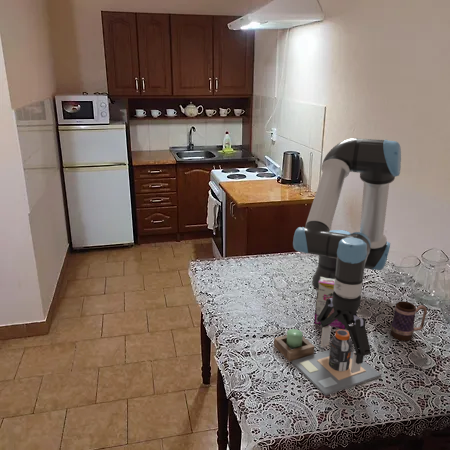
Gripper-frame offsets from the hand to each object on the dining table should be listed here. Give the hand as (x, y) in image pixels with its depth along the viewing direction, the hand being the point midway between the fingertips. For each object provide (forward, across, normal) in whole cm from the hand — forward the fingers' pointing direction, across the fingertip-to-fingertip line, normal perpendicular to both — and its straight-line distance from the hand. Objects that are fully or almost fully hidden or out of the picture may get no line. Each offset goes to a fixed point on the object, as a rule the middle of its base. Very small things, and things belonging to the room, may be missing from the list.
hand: (339, 357), depth 126 cm
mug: (+4, -4, +32) cm, 32 cm away
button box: (+4, -13, -7) cm, 15 cm away
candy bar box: (+4, -21, +14) cm, 25 cm away
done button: (+1, -13, -7) cm, 15 cm away
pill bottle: (+3, 0, 0) cm, 3 cm away
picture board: (+4, 0, -1) cm, 4 cm away
